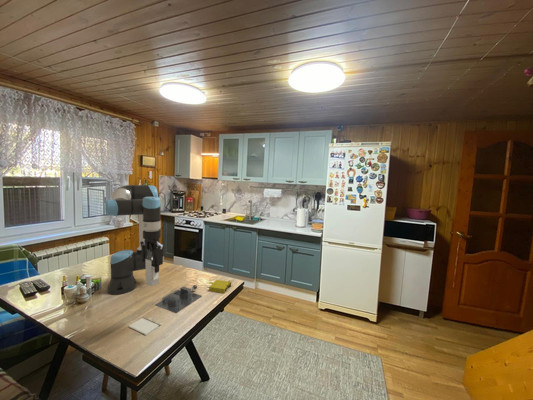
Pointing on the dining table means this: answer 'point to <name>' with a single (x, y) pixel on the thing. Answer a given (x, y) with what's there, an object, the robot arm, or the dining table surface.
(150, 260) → the gray rectangular block
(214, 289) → the bracket
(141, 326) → the mat
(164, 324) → the dining table surface
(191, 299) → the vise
